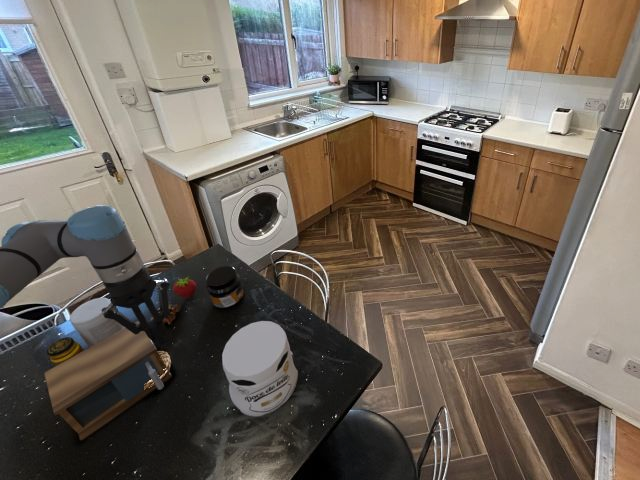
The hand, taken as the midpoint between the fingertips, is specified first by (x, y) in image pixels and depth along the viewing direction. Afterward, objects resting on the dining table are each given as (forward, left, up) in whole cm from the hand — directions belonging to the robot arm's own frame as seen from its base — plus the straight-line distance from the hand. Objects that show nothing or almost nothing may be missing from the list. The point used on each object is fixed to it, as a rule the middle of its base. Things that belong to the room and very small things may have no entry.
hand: (161, 341), depth 79 cm
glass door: (-2, -7, -16) cm, 18 cm away
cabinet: (-11, -12, -18) cm, 24 cm away
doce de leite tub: (+20, +14, -18) cm, 30 cm away
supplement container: (-18, +22, -18) cm, 34 cm away
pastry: (-26, +3, -18) cm, 32 cm away
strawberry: (-30, +13, -18) cm, 37 cm away
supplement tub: (-30, -10, -18) cm, 36 cm away
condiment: (-26, -19, -18) cm, 37 cm away
